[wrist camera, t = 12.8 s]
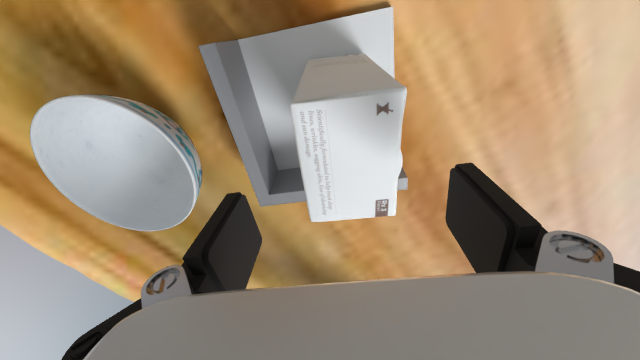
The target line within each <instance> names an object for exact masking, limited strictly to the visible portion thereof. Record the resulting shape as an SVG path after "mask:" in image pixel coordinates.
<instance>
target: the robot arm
mask: <svg viewBox="0 0 640 360" xmlns="http://www.w3.org/2000/svg"><path fill="white" fill-rule="evenodd" d="M446 223H447V226H448V227H449V229H450V231H451V232H452V234H453V236H454V237H455V239H456V240H457V242H458V244H459V245H460V247H461V249H462V250H463V252H464V254H465V255H466V257H467V258H468V260H469V262H470V263H471V265H472V267H473V268H474V270H475V272H476V273H470V274H451V275H436V276H421V277H406V278H391V279H377V280H362V281H348V282H334V283H321V284H307V285H294V286H281V287H268V288H255V289H246V286H247V283H248V280H249V278H250V275H251V272H252V269H253V266H254V263H255V261H256V258H257V255H258V252H259V249H260V247H261V244H262V237H261V234H260V232H259V229H258V226H257V224H256V221H255V219H254V216H253V214H252V211H251V209H250V206H249V204H248V201H247V199H246V196H245V195H242V194H241V193H240V192H237V193H229V194H227V195H226V196H225V198H224V199H223V200H222V202H221V203H220V205H219V206H218V208H217V209H216V211H215V212H214V213H213V215H212V216H211V218H210V219H209V221H208V222H207V223H206V225H205V226H204V228H203V229H202V231H201V232H200V234H199V235H198V236H197V238H196V239H195V241H194V242H193V244H192V245H191V247H190V248H189V249H188V251H187V252H186V254H185V255H184V257H183V258H182V259H183V260H184V263H183V264H182V266H180V265H171V266H167V267H165V268H163V269H161V270H159V271H158V272H156V273H155V274H153V275H152V276H151V277H150V278H149V279H148V280H147V281H146V282H145V284H144V286H143V287H142V290H141V299H139V300H137V301H136V302H134V303H133V304H131V305H129V306H128V307H126V308H125V309H123V310H121V311H120V312H118V313H117V314H115V315H114V316H112V317H110V318H109V319H107V320H106V321H104V322H102V323H101V324H99V325H97V326H96V327H94V328H93V329H91V330H89V331H88V332H87V333H85V334H84V335H82V336H81V337H80V338H78V339H77V340H76V341H75V342H74V343H73V344H72V346H71V347H70V348H69V349H68V350H67V351H66V353H65V355H64V356H63V358H62V360H640V272H639V271H636V270H633V269H630V268H627V267H624V266H621V265H618V264H615V263H613V257H612V254H611V252H610V251H609V250H608V249H607V248H606V247H605V246H604V245H602V244H601V243H599V242H598V241H596V240H594V239H592V238H590V237H588V236H585V235H582V234H579V233H574V232H569V231H552V232H549V233H548V232H547V231H546V230H545V229H544V228H543V227H542V225H541V224H540V223H539V222H538V221H537V220H536V219H534V218H533V217H532V216H531V215H530V214H529V213H528V212H527V211H525V210H524V209H523V208H522V207H521V206H520V205H519V204H518V203H516V202H515V201H514V200H513V199H512V198H511V197H510V196H509V195H508V194H506V193H505V192H504V191H503V190H502V189H501V188H500V187H499V186H497V185H496V184H495V183H494V182H493V181H492V180H491V179H490V178H489V177H487V176H486V175H485V174H484V173H483V172H482V171H481V170H480V169H478V168H477V167H476V166H475V165H474V164H473V163H464V164H457V165H455V168H452V169H451V171H450V180H449V190H448V199H447V209H446Z"/></svg>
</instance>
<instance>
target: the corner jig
mask: <svg viewBox="0 0 640 360" xmlns="http://www.w3.org/2000/svg"><path fill="white" fill-rule="evenodd" d="M198 47H199V50H200V52H201V55H202V57H203V60H204V63H205V65H206V68H207V70H208V73H209V75H210V78H211V81H212V83H213V86H214V88H215V91H216V94H217V96H218V99H219V101H220V104H221V106H222V109H223V112H224V114H225V117H226V119H227V122H228V124H229V127H230V130H231V132H232V135H233V137H234V140H235V143H236V145H237V148H238V150H239V153H240V155H241V158H242V161H243V163H244V166H245V168H246V171H247V173H248V176H249V179H250V181H251V184H252V186H253V189H254V192H255V194H256V197H257V199H258V202H259V204H260V207H261V206H269V205H278V204H286V203H295V202H303V201H306V196H305V191H304V186H303V181H302V176H301V170H300V165H299V159H298V154H297V147H296V141H295V135H294V129H293V123H292V116H291V110H290V104H291V103H292V101H293V98H294V95H295V93H296V90H297V87H298V85H299V82H300V79H301V76H302V73H303V71H304V68H305V66H306V63H307V60H310V59H318V58H327V57H335V56H343V55H352V54H361V53H364V54H366V55H367V56H368V57H369V58H370V59H371V60H372V61H374V62H375V63H376V64H377V65H378V66H380V67H381V68H382V69H383V70H385V71H386V72H387V73H388V74H389V75H391V76H392V77H393V78H394V31H393V7H388V8H383V9H379V10H374V11H370V12H365V13H360V14H356V15H351V16H346V17H342V18H337V19H332V20H328V21H323V22H318V23H314V24H309V25H304V26H300V27H295V28H291V29H286V30H281V31H277V32H272V33H267V34H263V35H258V36H253V37H249V38H244V39H239V40H232V41H224V42H215V43H210V44H206V45H201V46H198ZM407 180H408V178H407V176H406V174H405V172H404V170H403V168H401V172H400V174H399V176H398V185H397V190H404V189H407Z"/></svg>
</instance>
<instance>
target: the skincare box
mask: <svg viewBox="0 0 640 360" xmlns="http://www.w3.org/2000/svg"><path fill="white" fill-rule="evenodd" d="M406 96H407V89H406V87H405V86H403V85H401V84H400V83H399V82H398V81H397V80H395V79H394V78H393V77H392V76H391V75H389V74H388V73H387V72H386V71H385V70H383V69H382V68H381V67H380V66H378V65H377V64H376V63H375V62H374V61H372V60H371V59H370V58H369V57H368V56H367V55H366V54H364V53H361V54H352V55H343V56H335V57H327V58H318V59H310V60H307V63H306V66H305V68H304V71H303V73H302V76H301V79H300V82H299V85H298V87H297V90H296V93H295V95H294V98H293V101H292V103H291V104H290V110H291V116H292V123H293V129H294V135H295V141H296V147H297V154H298V159H299V165H300V170H301V176H302V181H303V186H304V191H305V196H306V202H307V207H308V211H309V216H310V220H311V222H323V221H336V220H347V219H359V218H372V217H381V216H393V215H396V204H397V185H398V176H399V174H400V172H401V168H402V153H401V150H400V146H401V133H402V121H403V114H404V108H405V103H406Z"/></svg>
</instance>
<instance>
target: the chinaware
mask: <svg viewBox="0 0 640 360" xmlns="http://www.w3.org/2000/svg"><path fill="white" fill-rule="evenodd" d="M30 141H31V146H32V150H33V153H34V155H35V158H36V160H37V162H38V164H39V166H40V167H41V169H42V170H43V172H44V173H45V175H46V176H47V178H48V179H49V180H50V181H51V182H52V184H53V185H54V186H55V187H56V188H57V189H58V190H59V191H60V192H61V193H62V194H63V195H64V196H66V197H67V198H68V199H69V200H70V201H72V202H73V203H74V204H76V205H77V206H78V207H80V208H81V209H83V210H84V211H86V212H88V213H89V214H91V215H93V216H95V217H97V218H99V219H101V220H103V221H106V222H108V223H111V224H113V225H116V226H119V227H123V228H127V229H132V230H138V231H160V230H165V229H169V228H172V227H174V226H176V225H178V224H180V223H181V222H182V221H184V220H185V219H186V218H187V217H188V216H189V214H190V213H191V211H192V210H193V208H194V206H195V203H196V201H197V198H198V195H199V192H200V187H201V180H202V170H201V163H200V159H199V155H198V153H197V150H196V148H195V146H194V144H193V142H192V141H191V139H190V138H189V136H188V135H187V134H186V133H185V131H184V130H183V129H182V128H181V127H180V126H179V125H178V124H177V123H176V122H174V121H173V120H172V119H171V118H169V117H168V116H166V115H165V114H163V113H162V112H160V111H158V110H156V109H154V108H152V107H150V106H148V105H145V104H143V103H140V102H137V101H134V100H130V99H126V98H121V97H115V96H107V95H72V96H65V97H60V98H57V99H54V100H52V101H50V102H48V103H46V104H45V105H43V106H42V107H41V108H40V109H39V110H38V111H37V112H36V114H35V116H34V118H33V120H32V123H31V127H30Z"/></svg>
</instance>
